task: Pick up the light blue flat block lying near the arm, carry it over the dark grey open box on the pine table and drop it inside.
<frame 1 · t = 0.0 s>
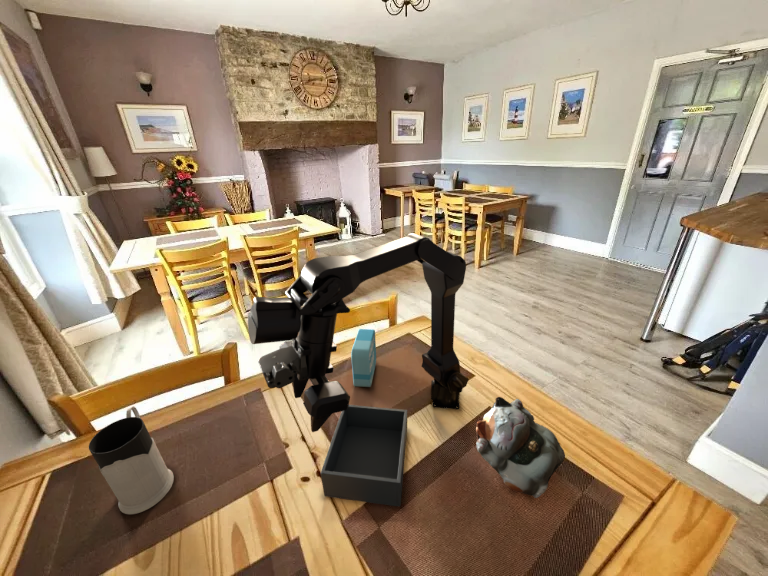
hand: (305, 413, 56), 15 cm above the table, tool pointing down, fingers open, 9 cm apart
light blue flat block: (365, 374, 88), on the table
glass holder: (149, 478, 62), on the table
dark grey open box: (369, 460, 64), on the table
lucky cat figurine: (513, 464, 63), on the table
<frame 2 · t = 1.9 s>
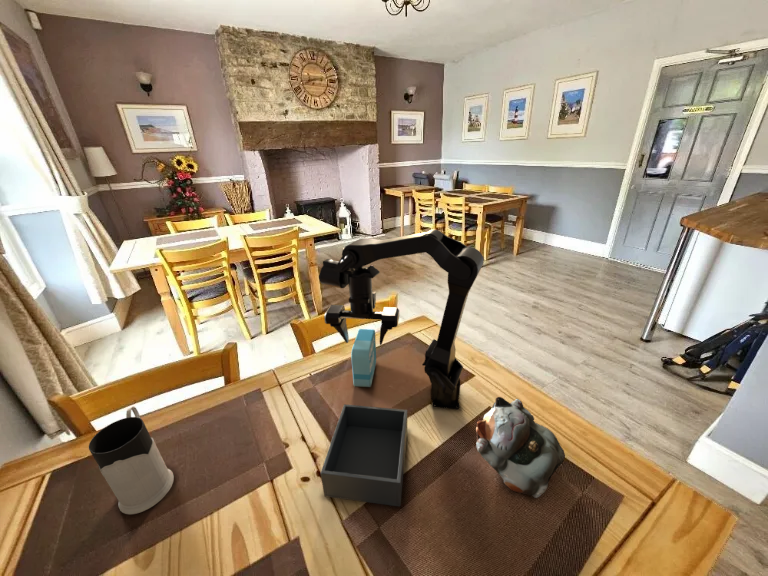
hand: (364, 343, 83), 11 cm above the table, tool pointing down, fingers open, 9 cm apart
nothing on the table moved.
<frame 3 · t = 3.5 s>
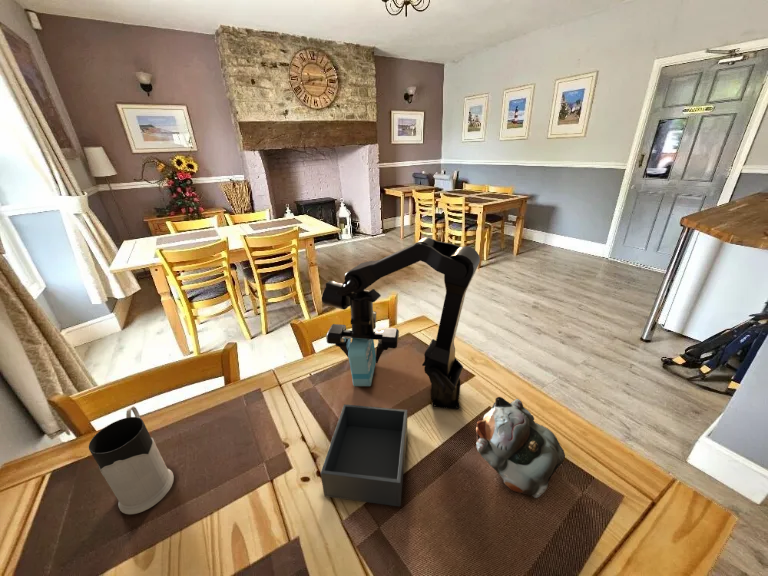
hand: (364, 361, 86), 5 cm above the table, tool pointing down, fingers closed on light blue flat block, 7 cm apart
light blue flat block: (365, 374, 88), on the table, touching gripper
everything else where it was.
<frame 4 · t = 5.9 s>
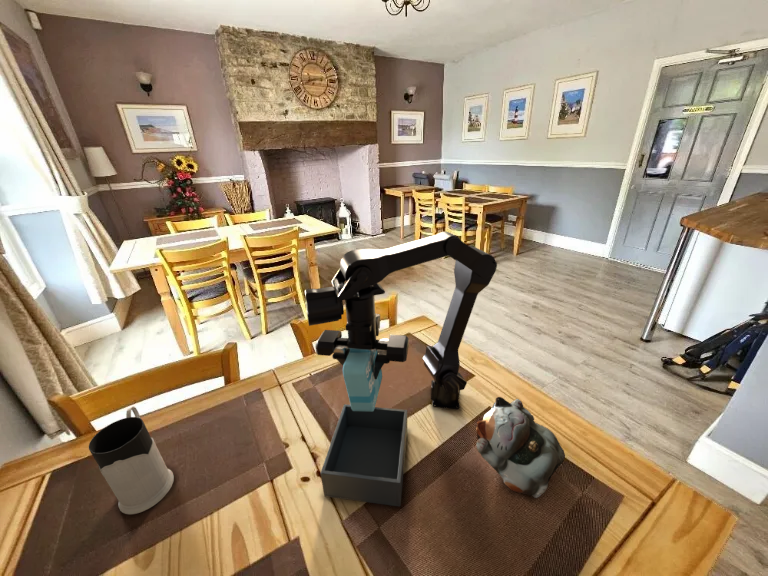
hand: (364, 376, 68), 13 cm above the table, tool pointing down, fingers closed on light blue flat block, 5 cm apart
light blue flat block: (368, 394, 70), point 8 cm above the table, touching gripper
everything else where it was.
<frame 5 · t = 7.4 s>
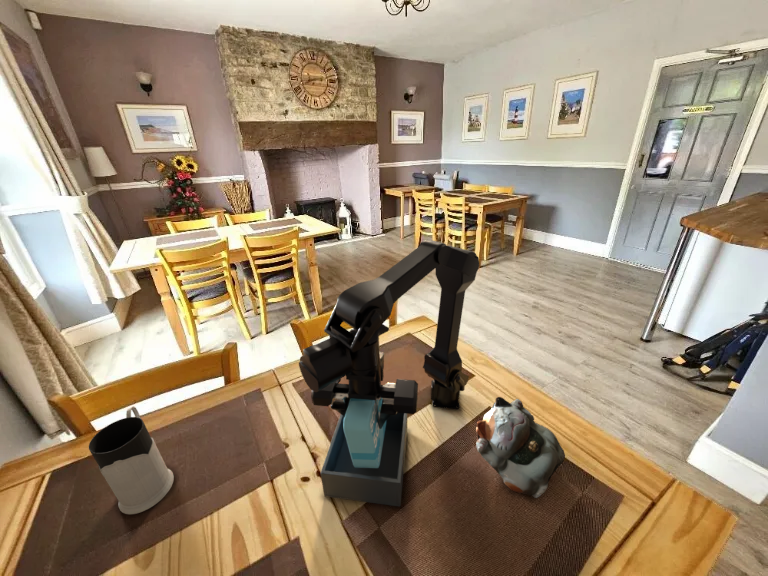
hand: (367, 425, 60), 10 cm above the table, tool pointing down, fingers closed on light blue flat block, 5 cm apart
light blue flat block: (372, 444, 62), point 5 cm above the table, touching gripper
everything else where it was.
when the fingers open (6 cm above the table, at t = 8.8 s): light blue flat block moves 1 cm, resting on dark grey open box.
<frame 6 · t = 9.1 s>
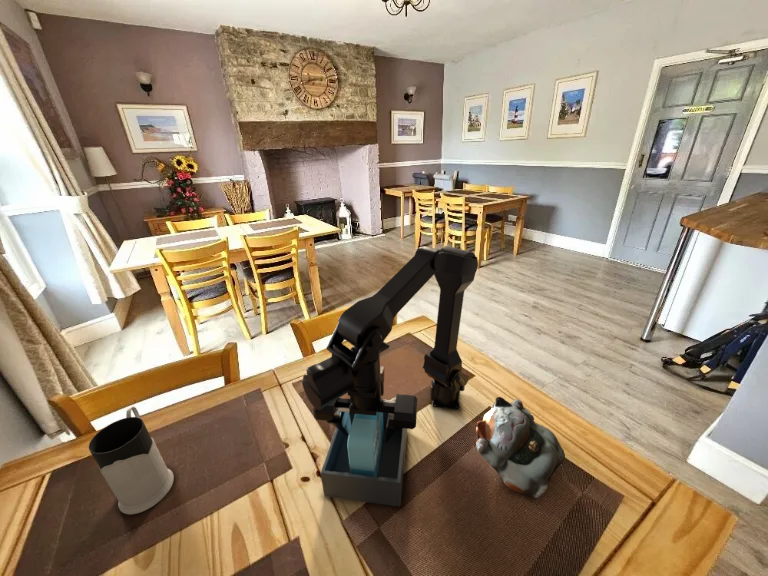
hand: (368, 438, 61), 6 cm above the table, tool pointing down, fingers open, 7 cm apart
light blue flat block: (369, 459, 64), resting on dark grey open box
everything else where it was.
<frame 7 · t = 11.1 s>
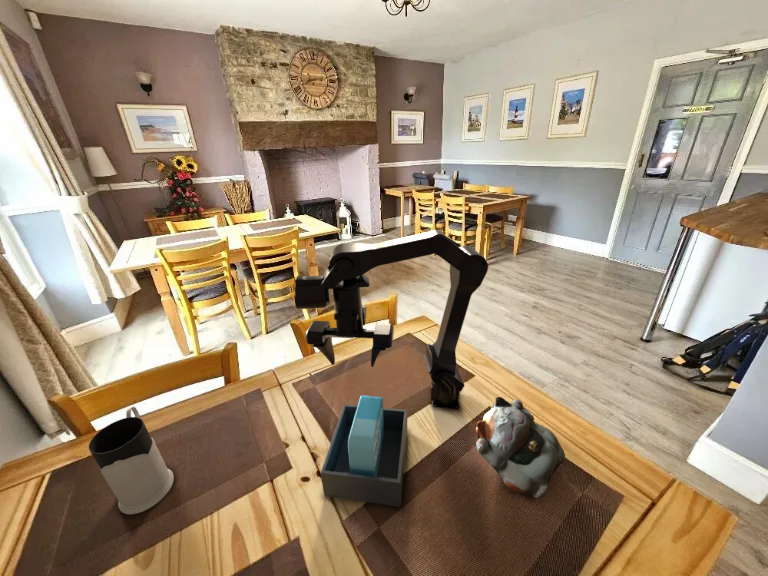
hand: (352, 364, 72), 13 cm above the table, tool pointing down, fingers open, 9 cm apart
nothing on the table moved.
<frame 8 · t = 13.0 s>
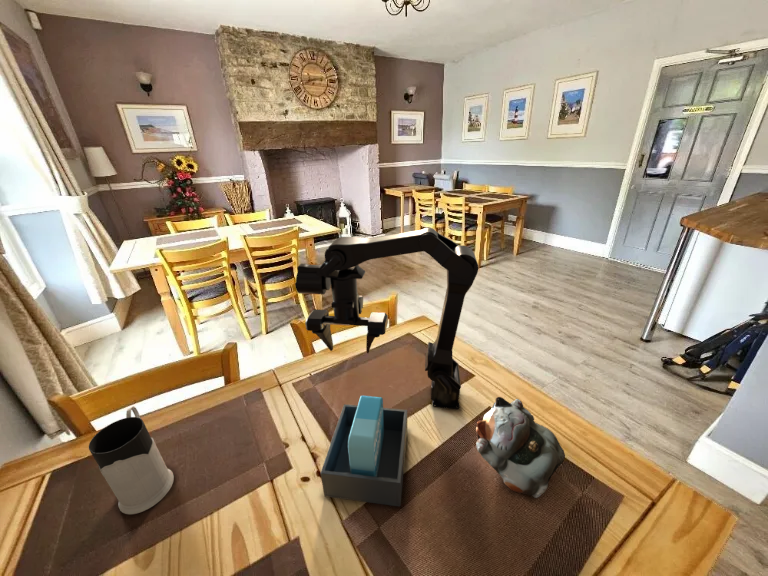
hand: (349, 351, 76), 13 cm above the table, tool pointing down, fingers open, 9 cm apart
nothing on the table moved.
at the end: light blue flat block inside the target area in the dark grey open box (0.1 cm from its centre), point 0.4 cm above the dark grey open box's base; the gripper is holding nothing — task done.
